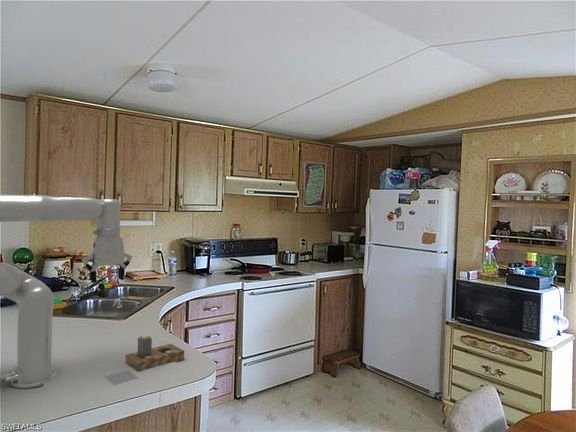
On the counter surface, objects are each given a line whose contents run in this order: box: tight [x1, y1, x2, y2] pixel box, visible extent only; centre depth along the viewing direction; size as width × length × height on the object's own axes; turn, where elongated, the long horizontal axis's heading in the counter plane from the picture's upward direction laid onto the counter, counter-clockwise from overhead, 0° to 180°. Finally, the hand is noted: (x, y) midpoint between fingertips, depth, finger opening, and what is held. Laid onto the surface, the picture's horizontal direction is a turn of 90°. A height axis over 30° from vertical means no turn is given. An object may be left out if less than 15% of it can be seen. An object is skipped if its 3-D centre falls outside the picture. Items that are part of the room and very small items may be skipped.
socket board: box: [124, 343, 185, 372], centre depth 148 cm, size 18×10×4 cm, turn 135°
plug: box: [137, 333, 153, 359], centre depth 145 cm, size 4×4×11 cm
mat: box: [104, 370, 139, 386], centre depth 133 cm, size 8×8×1 cm
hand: (107, 280), depth 144 cm, fingers open, 9 cm apart
